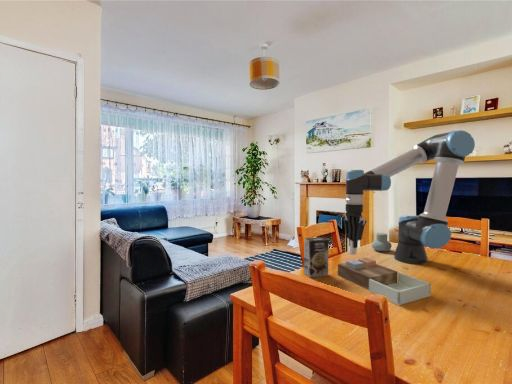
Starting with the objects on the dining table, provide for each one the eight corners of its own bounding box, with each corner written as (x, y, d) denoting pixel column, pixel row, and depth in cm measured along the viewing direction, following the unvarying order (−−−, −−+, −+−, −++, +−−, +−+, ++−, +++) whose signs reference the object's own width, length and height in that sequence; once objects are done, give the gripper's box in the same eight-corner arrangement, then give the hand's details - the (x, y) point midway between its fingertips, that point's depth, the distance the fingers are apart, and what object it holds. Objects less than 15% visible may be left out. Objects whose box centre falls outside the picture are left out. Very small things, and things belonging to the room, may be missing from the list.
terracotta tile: (366, 262, 123) (366, 257, 123) (375, 265, 118) (375, 260, 118) (358, 263, 121) (358, 259, 121) (367, 266, 116) (367, 262, 116)
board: (363, 270, 127) (363, 259, 127) (397, 283, 110) (397, 271, 110) (337, 275, 121) (337, 264, 120) (370, 290, 104) (370, 277, 104)
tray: (398, 283, 111) (399, 272, 110) (430, 296, 99) (430, 283, 99) (368, 290, 104) (368, 279, 104) (398, 305, 92) (399, 292, 92)
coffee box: (310, 278, 118) (310, 241, 117) (303, 272, 124) (303, 237, 123) (328, 275, 120) (329, 239, 119) (321, 270, 126) (321, 236, 125)
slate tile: (354, 264, 120) (355, 259, 120) (363, 267, 115) (363, 263, 115) (346, 265, 118) (346, 261, 118) (354, 269, 113) (354, 264, 113)
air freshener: (378, 247, 166) (379, 231, 166) (392, 250, 160) (393, 233, 159) (369, 250, 159) (370, 233, 159) (384, 253, 153) (384, 236, 152)
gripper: (338, 202, 130) (337, 251, 131) (358, 205, 118) (357, 259, 119) (350, 202, 133) (349, 249, 134) (371, 204, 121) (370, 257, 122)
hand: (353, 254), depth 127 cm, fingers closed
